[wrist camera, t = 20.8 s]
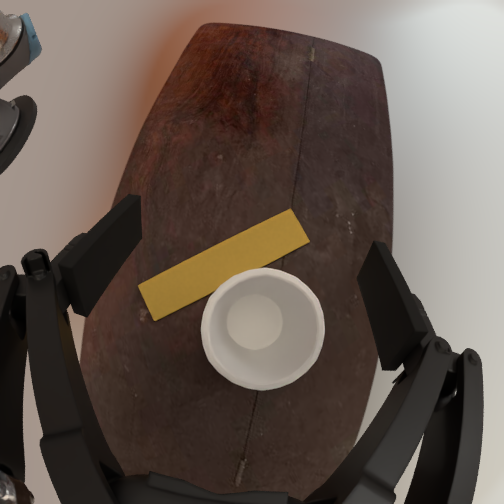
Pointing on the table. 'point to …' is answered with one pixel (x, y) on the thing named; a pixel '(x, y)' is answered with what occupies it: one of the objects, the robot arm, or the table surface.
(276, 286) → the cup
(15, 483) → the robot arm
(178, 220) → the table surface
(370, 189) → the table surface
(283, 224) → the yellow plank
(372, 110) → the table surface
